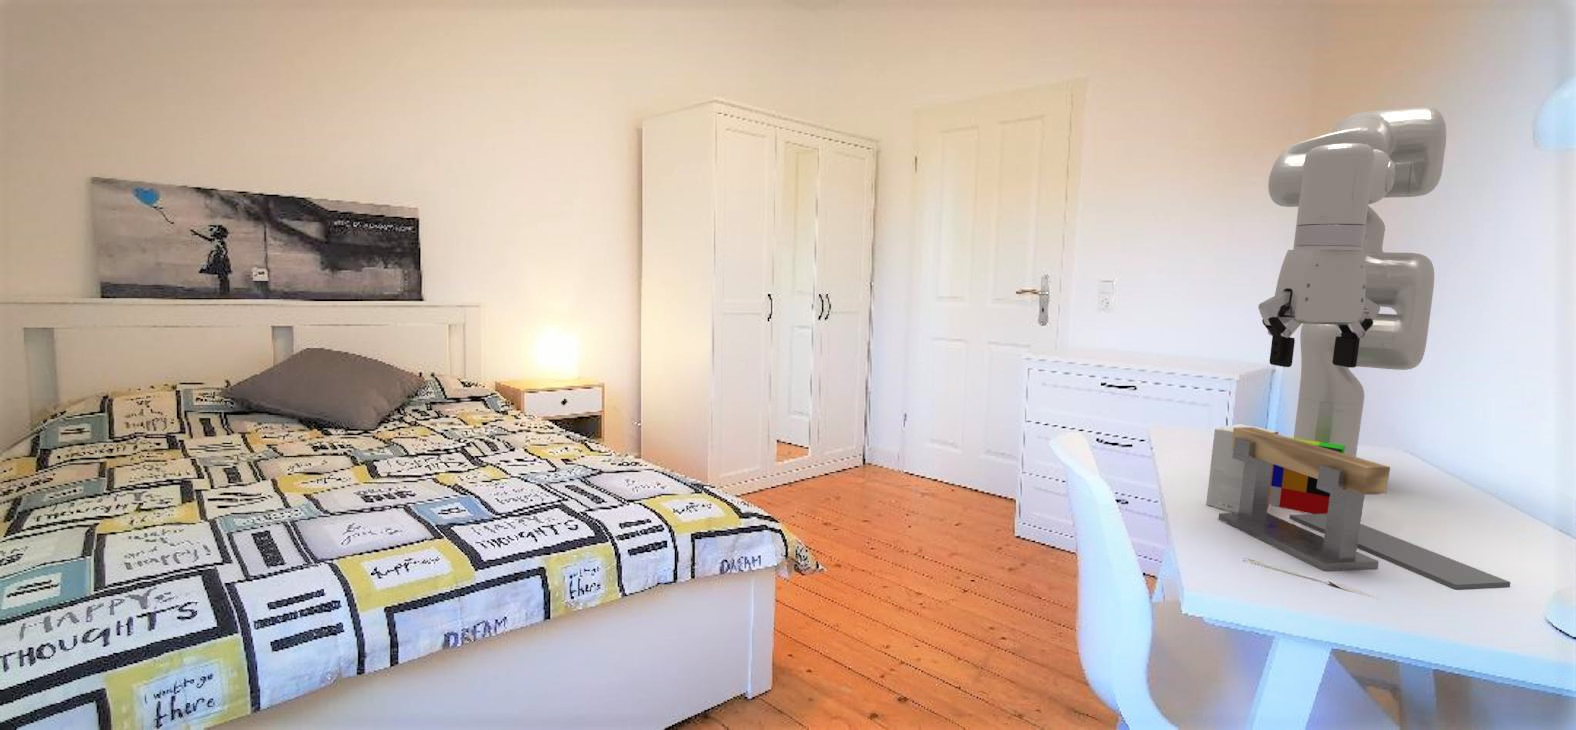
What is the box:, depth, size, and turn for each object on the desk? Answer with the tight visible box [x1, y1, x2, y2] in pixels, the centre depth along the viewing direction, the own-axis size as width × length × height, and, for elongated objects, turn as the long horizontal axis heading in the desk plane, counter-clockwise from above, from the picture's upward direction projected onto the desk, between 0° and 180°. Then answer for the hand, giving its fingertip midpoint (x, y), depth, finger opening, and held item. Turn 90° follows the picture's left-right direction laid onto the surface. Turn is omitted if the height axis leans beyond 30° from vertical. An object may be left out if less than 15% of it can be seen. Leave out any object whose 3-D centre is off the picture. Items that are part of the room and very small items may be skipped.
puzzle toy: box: [1269, 436, 1345, 514], centre depth 122 cm, size 10×10×10 cm
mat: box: [1288, 513, 1511, 590], centre depth 103 cm, size 8×25×1 cm, turn 8°
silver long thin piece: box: [1242, 557, 1382, 600], centre depth 90 cm, size 4×1×19 cm
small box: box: [1205, 423, 1279, 513], centre depth 119 cm, size 8×6×13 cm
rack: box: [1217, 437, 1379, 572], centre depth 103 cm, size 8×19×13 cm, turn 8°
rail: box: [1231, 426, 1391, 495], centre depth 102 cm, size 4×22×4 cm, turn 9°
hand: (1312, 365), depth 100 cm, fingers open, 9 cm apart
